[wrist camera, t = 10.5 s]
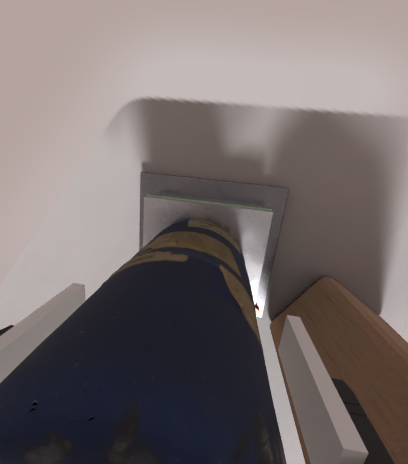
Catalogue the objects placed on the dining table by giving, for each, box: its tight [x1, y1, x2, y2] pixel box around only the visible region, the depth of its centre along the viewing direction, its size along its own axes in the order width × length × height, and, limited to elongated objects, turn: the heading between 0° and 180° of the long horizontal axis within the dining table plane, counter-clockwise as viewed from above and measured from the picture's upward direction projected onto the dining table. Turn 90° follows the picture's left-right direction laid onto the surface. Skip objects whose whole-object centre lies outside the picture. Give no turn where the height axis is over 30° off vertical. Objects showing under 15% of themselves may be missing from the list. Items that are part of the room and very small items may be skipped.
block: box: [270, 276, 408, 464], centre depth 18 cm, size 10×10×20 cm
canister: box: [0, 220, 286, 464], centre depth 13 cm, size 10×10×18 cm
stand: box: [139, 172, 289, 317], centre depth 24 cm, size 16×17×5 cm
